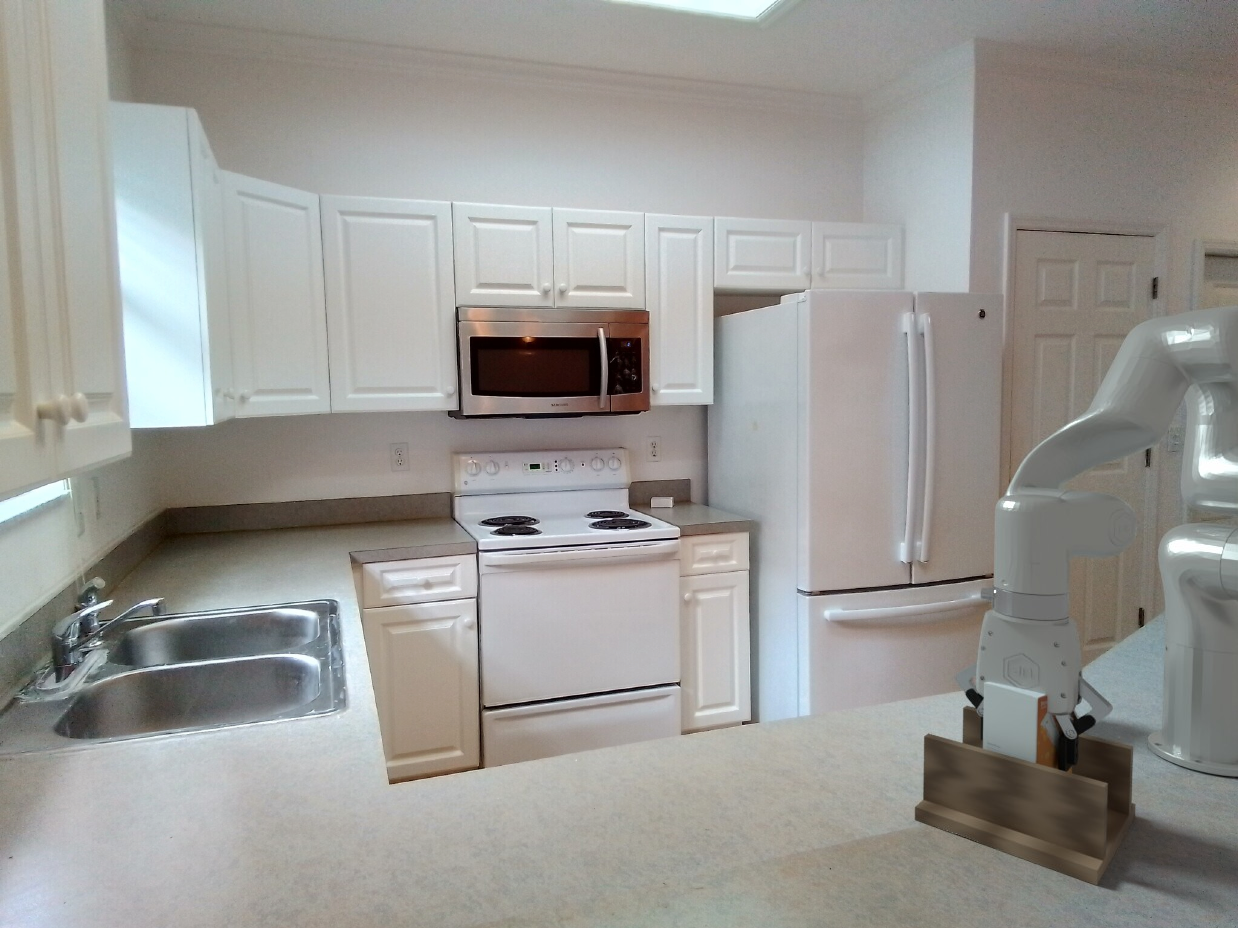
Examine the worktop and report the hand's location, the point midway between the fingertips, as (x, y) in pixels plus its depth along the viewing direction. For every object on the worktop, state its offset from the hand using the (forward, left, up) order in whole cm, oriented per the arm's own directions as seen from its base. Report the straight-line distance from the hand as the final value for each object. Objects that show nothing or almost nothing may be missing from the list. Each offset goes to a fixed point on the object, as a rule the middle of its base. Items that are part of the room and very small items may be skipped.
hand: (1027, 756), depth 86 cm
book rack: (0, 0, -7) cm, 7 cm away
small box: (0, 0, -5) cm, 5 cm away
